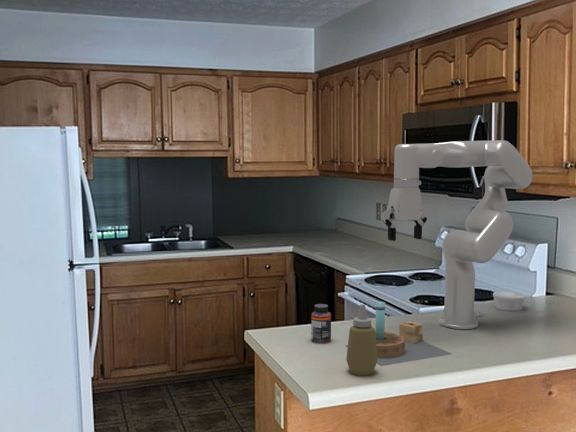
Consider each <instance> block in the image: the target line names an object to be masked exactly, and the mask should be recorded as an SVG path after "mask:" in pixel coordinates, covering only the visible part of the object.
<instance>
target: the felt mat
mask: <svg viewBox="0 0 576 432" xmlns="http://www.w3.org/2000/svg"><path fill="white" fill-rule="evenodd" d="M345 347H346V348H348V344H347V345H345ZM449 355H452V353H451V352H449V351H447V350H444V349H443V348H440V347H438V346H436V345H434V344H431V343H429V342H426V341H424V340H422V341H419V342H417V343H414V344H412V343H408V342H405V353H404V354H402V355H400V356H398V357H392V358H377V363H376V365H379V366H381V367H384V366H389V365H396V364H401V363H408V362H412V361H420V360H424V359H430V358H431V359H432V358H437V357H443V356H449Z"/></svg>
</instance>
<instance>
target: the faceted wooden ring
mask: <svg viewBox="0 0 576 432" xmlns="http://www.w3.org/2000/svg"><path fill="white" fill-rule="evenodd" d="M376 349H377V358H392V357H398V356H400V355H402V354H404V353H405V340H404V337H402V336H400V335H399V333H398V334H397V333H393V332H391V331H390V332H388V331H384V340H376Z"/></svg>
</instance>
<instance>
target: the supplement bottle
mask: <svg viewBox="0 0 576 432" xmlns="http://www.w3.org/2000/svg"><path fill="white" fill-rule="evenodd" d="M310 320H311V325H310V326H311V328H310V329H311V332H310V334H311V342H313V343H314V344H320V345H321V344H323V345H324V344H329V343H331V341H332V313H331V312H329V305H328V304H324V303H317V304H314V310H313V311H312V312H311V319H310Z"/></svg>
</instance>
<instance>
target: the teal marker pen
mask: <svg viewBox="0 0 576 432" xmlns="http://www.w3.org/2000/svg"><path fill="white" fill-rule="evenodd" d="M385 317H386V302H385V301H381V300H379V301H376V302H375V321H374V322H375V324H374V325H375V328H374V329H375V338H376V340H384V332H385V329H386V327H385V323H386V322H385V321H386V319H385Z"/></svg>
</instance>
